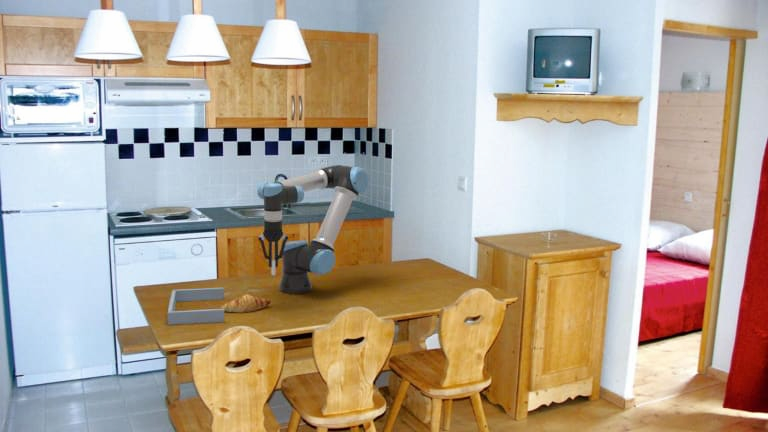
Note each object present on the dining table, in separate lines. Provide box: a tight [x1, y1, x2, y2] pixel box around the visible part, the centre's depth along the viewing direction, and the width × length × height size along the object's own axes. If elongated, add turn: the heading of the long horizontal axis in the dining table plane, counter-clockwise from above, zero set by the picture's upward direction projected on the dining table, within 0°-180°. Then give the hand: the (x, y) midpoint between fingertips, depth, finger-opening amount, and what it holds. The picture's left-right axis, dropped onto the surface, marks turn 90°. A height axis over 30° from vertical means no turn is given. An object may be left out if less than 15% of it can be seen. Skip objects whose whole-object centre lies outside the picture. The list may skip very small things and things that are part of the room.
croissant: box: [220, 293, 271, 314], centre depth 299 cm, size 21×10×8 cm, turn 114°
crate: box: [167, 287, 226, 326], centre depth 296 cm, size 22×33×5 cm, turn 13°
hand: (273, 274), depth 300 cm, fingers closed
